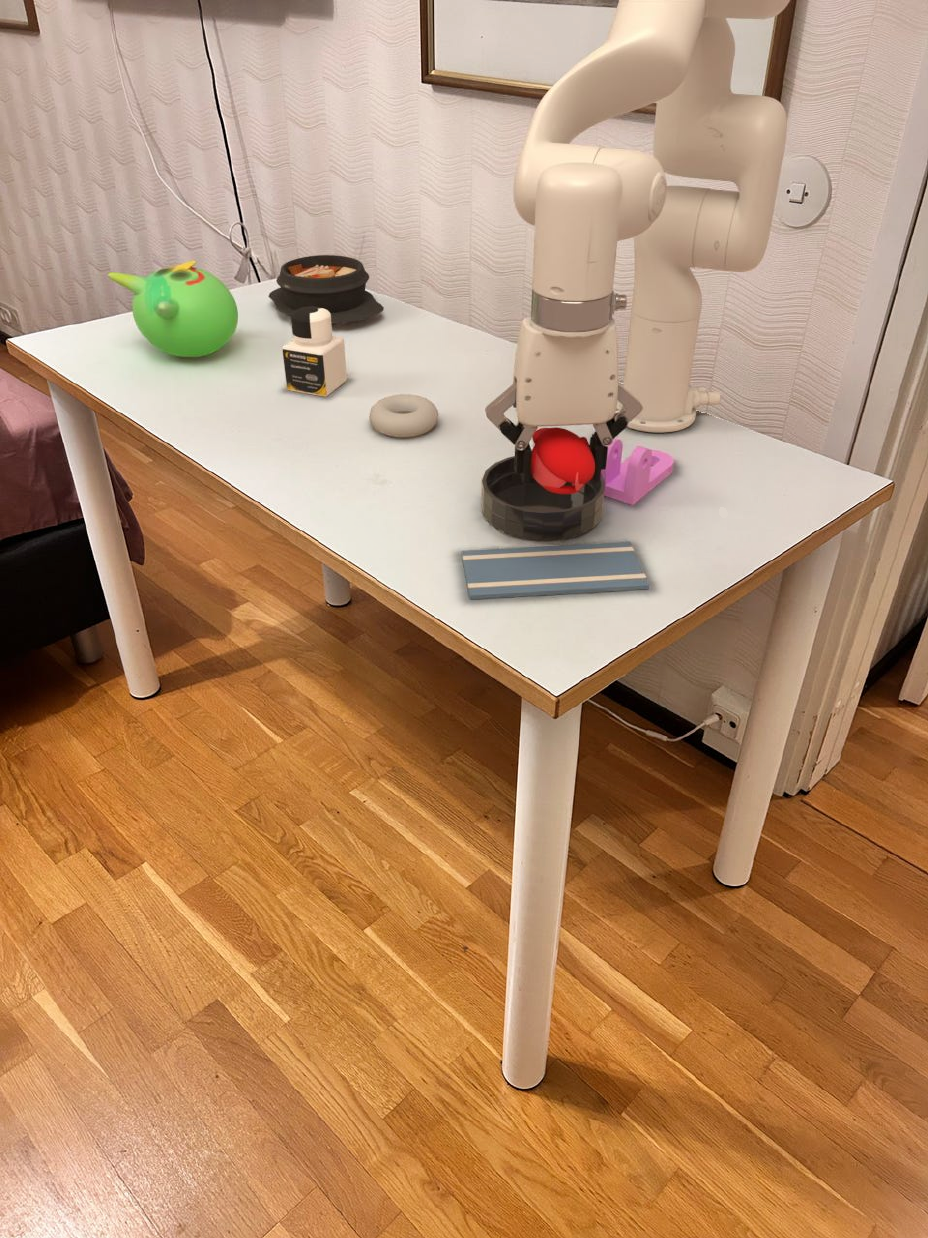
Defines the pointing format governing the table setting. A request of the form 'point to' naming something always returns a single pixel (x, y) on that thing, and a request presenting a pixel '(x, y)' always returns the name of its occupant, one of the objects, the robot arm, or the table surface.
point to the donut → (403, 415)
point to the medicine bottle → (314, 354)
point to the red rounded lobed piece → (561, 460)
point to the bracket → (634, 472)
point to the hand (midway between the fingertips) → (559, 475)
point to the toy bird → (182, 309)
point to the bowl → (538, 505)
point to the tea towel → (552, 570)
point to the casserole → (326, 288)
